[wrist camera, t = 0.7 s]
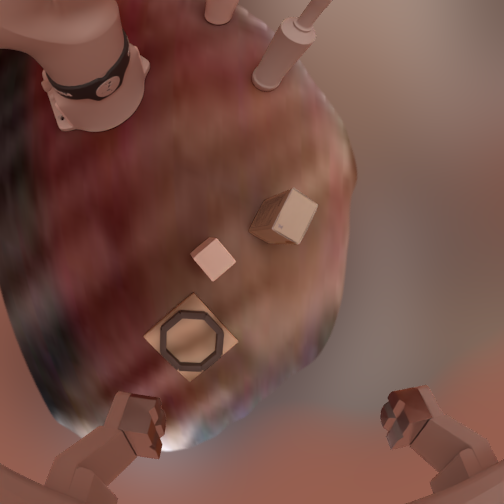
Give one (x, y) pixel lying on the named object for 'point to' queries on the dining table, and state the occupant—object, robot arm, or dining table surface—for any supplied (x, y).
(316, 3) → the bottle
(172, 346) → the board
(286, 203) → the skincare box
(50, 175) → the dining table surface
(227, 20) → the drinking glass
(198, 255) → the carton
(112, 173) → the dining table surface
